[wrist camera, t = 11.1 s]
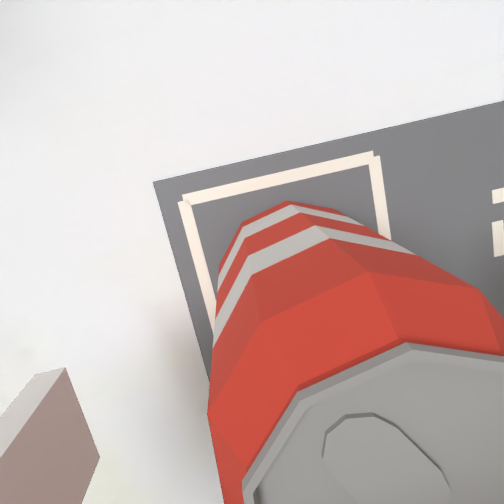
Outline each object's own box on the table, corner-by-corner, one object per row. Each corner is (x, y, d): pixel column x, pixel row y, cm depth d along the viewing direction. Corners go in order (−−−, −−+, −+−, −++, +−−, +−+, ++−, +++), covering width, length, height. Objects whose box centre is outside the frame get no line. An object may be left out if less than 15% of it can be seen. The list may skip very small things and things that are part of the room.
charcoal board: (213, 391, 19) (212, 393, 19) (153, 181, 16) (152, 182, 16) (626, 295, 19) (631, 297, 19) (630, 71, 16) (636, 70, 16)
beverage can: (294, 167, 16) (454, 210, 5) (390, 273, 18) (697, 507, 6) (190, 268, 17) (110, 514, 6) (290, 362, 19) (394, 717, 7)
